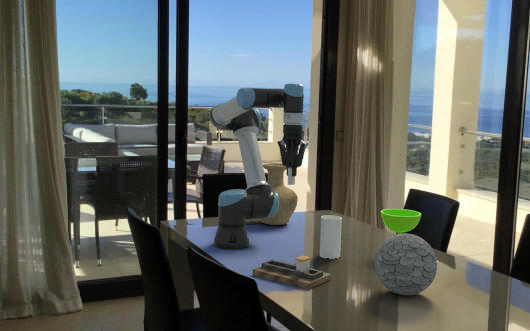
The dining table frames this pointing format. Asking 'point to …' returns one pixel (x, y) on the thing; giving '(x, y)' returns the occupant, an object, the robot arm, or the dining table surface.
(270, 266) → the wooden tray
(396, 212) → the wineglass
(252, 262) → the dining table surface
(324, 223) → the cup
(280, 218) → the vase
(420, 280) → the decorative sphere
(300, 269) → the fader knob
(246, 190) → the robot arm
